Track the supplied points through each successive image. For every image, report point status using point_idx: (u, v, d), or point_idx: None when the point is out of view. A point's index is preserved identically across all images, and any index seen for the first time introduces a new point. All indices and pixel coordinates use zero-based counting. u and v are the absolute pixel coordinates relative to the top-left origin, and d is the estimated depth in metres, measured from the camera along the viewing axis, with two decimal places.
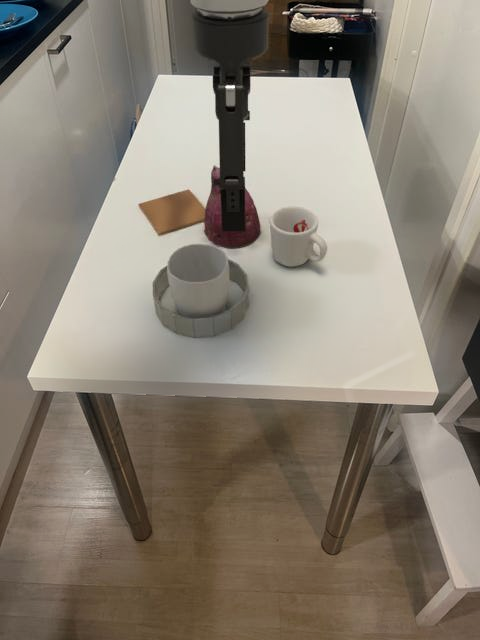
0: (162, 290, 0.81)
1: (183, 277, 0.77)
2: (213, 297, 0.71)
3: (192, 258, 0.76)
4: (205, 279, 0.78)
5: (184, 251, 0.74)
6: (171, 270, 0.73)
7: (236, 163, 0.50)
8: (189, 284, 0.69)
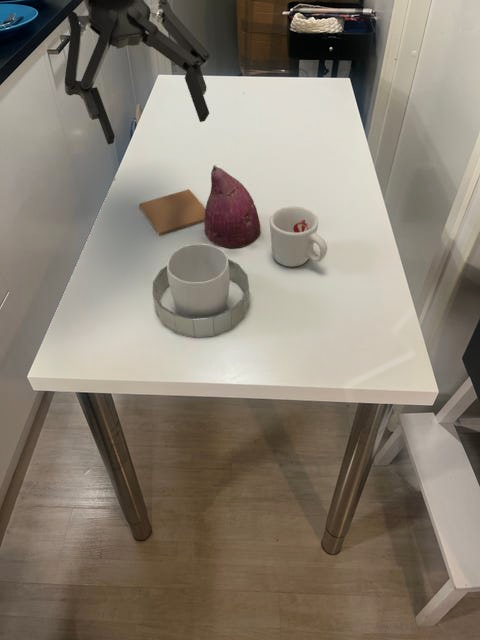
0: (162, 290, 0.81)
1: (183, 277, 0.77)
2: (213, 297, 0.71)
3: (192, 258, 0.76)
4: (205, 279, 0.78)
5: (184, 251, 0.74)
6: (171, 270, 0.73)
7: None
8: (189, 284, 0.69)
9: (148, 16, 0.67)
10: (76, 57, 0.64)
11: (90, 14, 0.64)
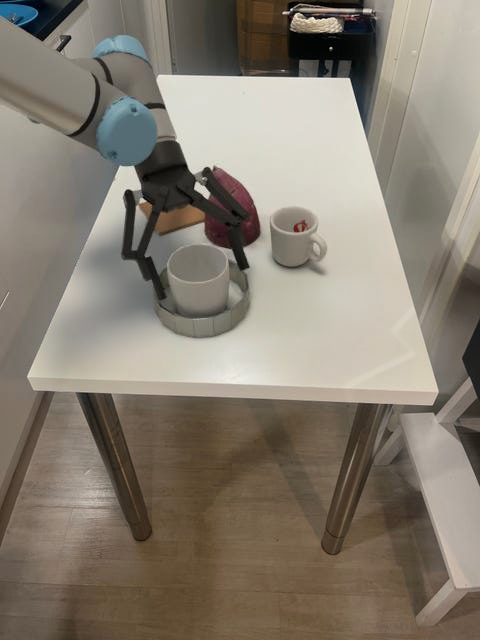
0: None
1: (183, 277, 0.77)
2: (213, 297, 0.71)
3: (192, 258, 0.76)
4: (205, 279, 0.78)
5: (184, 251, 0.74)
6: (171, 270, 0.73)
7: None
8: (189, 284, 0.69)
9: (194, 184, 0.74)
10: (132, 230, 0.70)
11: (144, 189, 0.71)
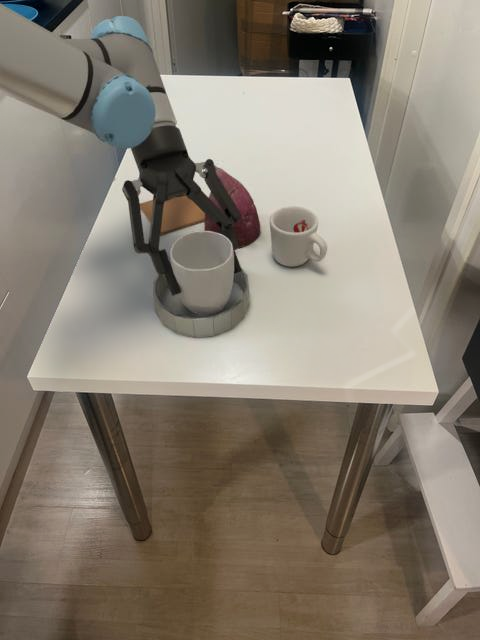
0: (162, 290, 0.81)
1: (185, 266, 0.75)
2: (220, 284, 0.69)
3: (194, 246, 0.74)
4: (207, 267, 0.77)
5: (186, 239, 0.72)
6: (174, 259, 0.71)
7: None
8: (195, 272, 0.67)
9: (193, 173, 0.72)
10: (140, 221, 0.69)
11: (142, 175, 0.69)
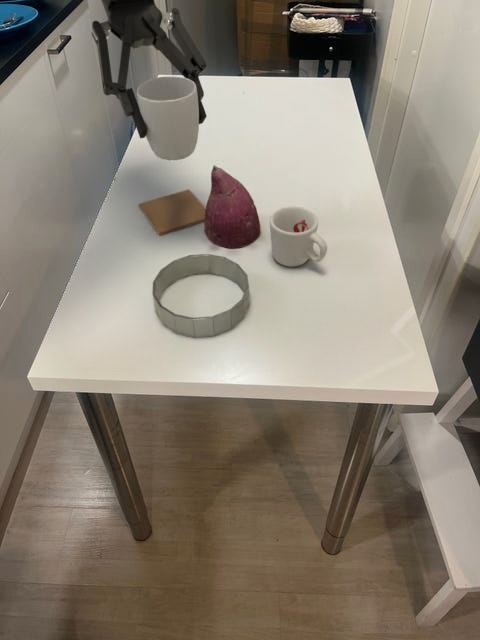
0: (162, 290, 0.81)
1: None
2: (183, 120, 0.73)
3: (161, 94, 0.78)
4: None
5: (153, 84, 0.76)
6: None
7: None
8: (158, 104, 0.71)
9: (159, 21, 0.76)
10: (108, 60, 0.72)
11: (110, 18, 0.73)
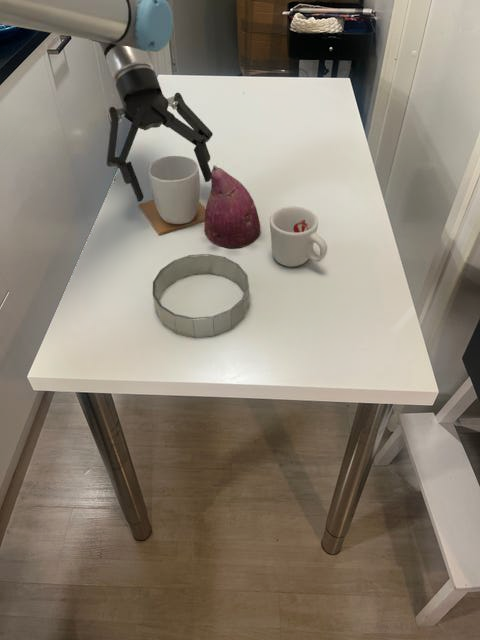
0: (162, 290, 0.81)
1: None
2: (187, 195, 0.88)
3: (168, 169, 0.93)
4: None
5: (162, 162, 0.91)
6: None
7: None
8: (167, 183, 0.86)
9: (167, 107, 0.90)
10: (115, 140, 0.87)
11: (125, 108, 0.88)
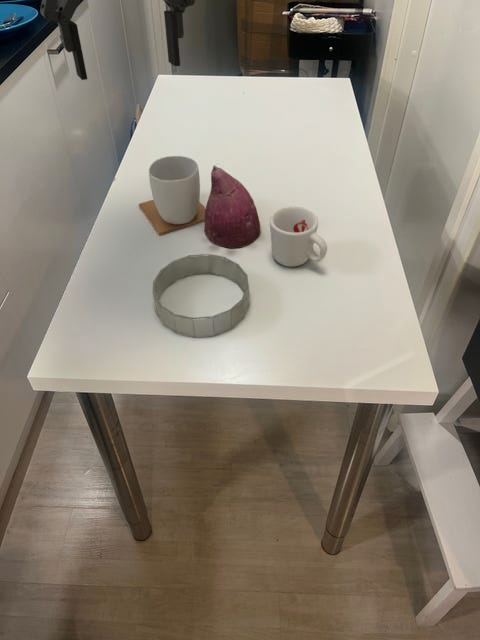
0: (162, 290, 0.81)
1: None
2: (187, 195, 0.88)
3: (168, 169, 0.93)
4: None
5: (162, 162, 0.91)
6: None
7: None
8: (167, 183, 0.86)
9: None
10: None
11: None
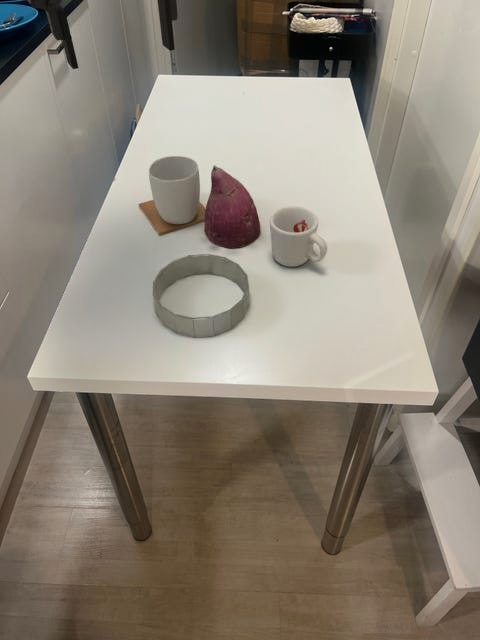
0: (162, 290, 0.81)
1: None
2: (187, 195, 0.88)
3: (168, 169, 0.93)
4: None
5: (162, 162, 0.91)
6: None
7: None
8: (167, 183, 0.86)
9: None
10: None
11: None
